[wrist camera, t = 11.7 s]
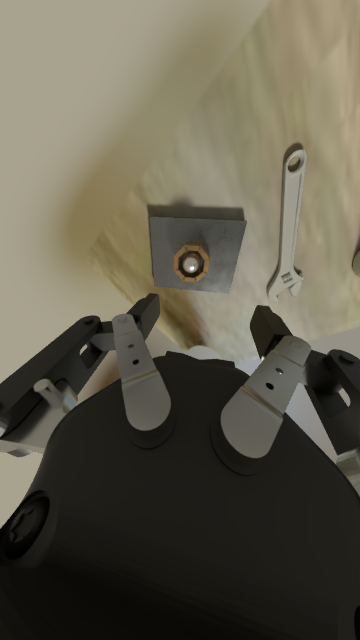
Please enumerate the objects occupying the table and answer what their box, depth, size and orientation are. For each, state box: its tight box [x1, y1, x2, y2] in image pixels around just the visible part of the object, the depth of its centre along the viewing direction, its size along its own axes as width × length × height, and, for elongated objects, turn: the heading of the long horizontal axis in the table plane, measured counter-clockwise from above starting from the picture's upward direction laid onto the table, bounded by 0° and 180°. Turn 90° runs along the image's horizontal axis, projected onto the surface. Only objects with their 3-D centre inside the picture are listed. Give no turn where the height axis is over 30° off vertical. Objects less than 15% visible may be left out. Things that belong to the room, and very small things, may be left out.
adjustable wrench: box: [267, 150, 307, 304], centre depth 28 cm, size 25×6×2 cm, turn 12°
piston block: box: [150, 217, 247, 294], centre depth 29 cm, size 18×14×8 cm
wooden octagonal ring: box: [174, 241, 210, 282], centre depth 29 cm, size 6×6×5 cm
